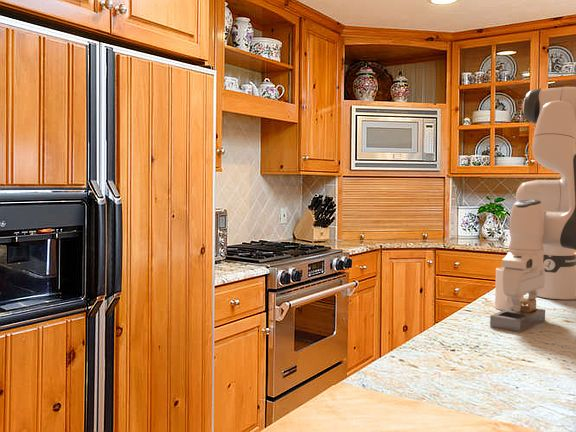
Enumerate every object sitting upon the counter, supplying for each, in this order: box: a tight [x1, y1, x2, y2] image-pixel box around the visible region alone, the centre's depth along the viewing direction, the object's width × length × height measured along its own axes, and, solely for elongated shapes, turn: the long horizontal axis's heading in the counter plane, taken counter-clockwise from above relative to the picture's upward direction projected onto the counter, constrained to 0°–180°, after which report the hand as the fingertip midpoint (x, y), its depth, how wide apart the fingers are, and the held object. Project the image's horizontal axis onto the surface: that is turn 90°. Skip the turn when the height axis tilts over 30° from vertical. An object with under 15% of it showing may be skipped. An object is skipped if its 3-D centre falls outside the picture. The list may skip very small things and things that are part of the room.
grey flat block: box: [489, 307, 546, 333], centre depth 150 cm, size 17×8×3 cm, turn 135°
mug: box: [493, 266, 525, 311], centre depth 167 cm, size 12×8×12 cm
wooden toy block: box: [513, 297, 537, 314], centre depth 153 cm, size 4×4×6 cm
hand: (524, 308), depth 153 cm, fingers open, 8 cm apart
